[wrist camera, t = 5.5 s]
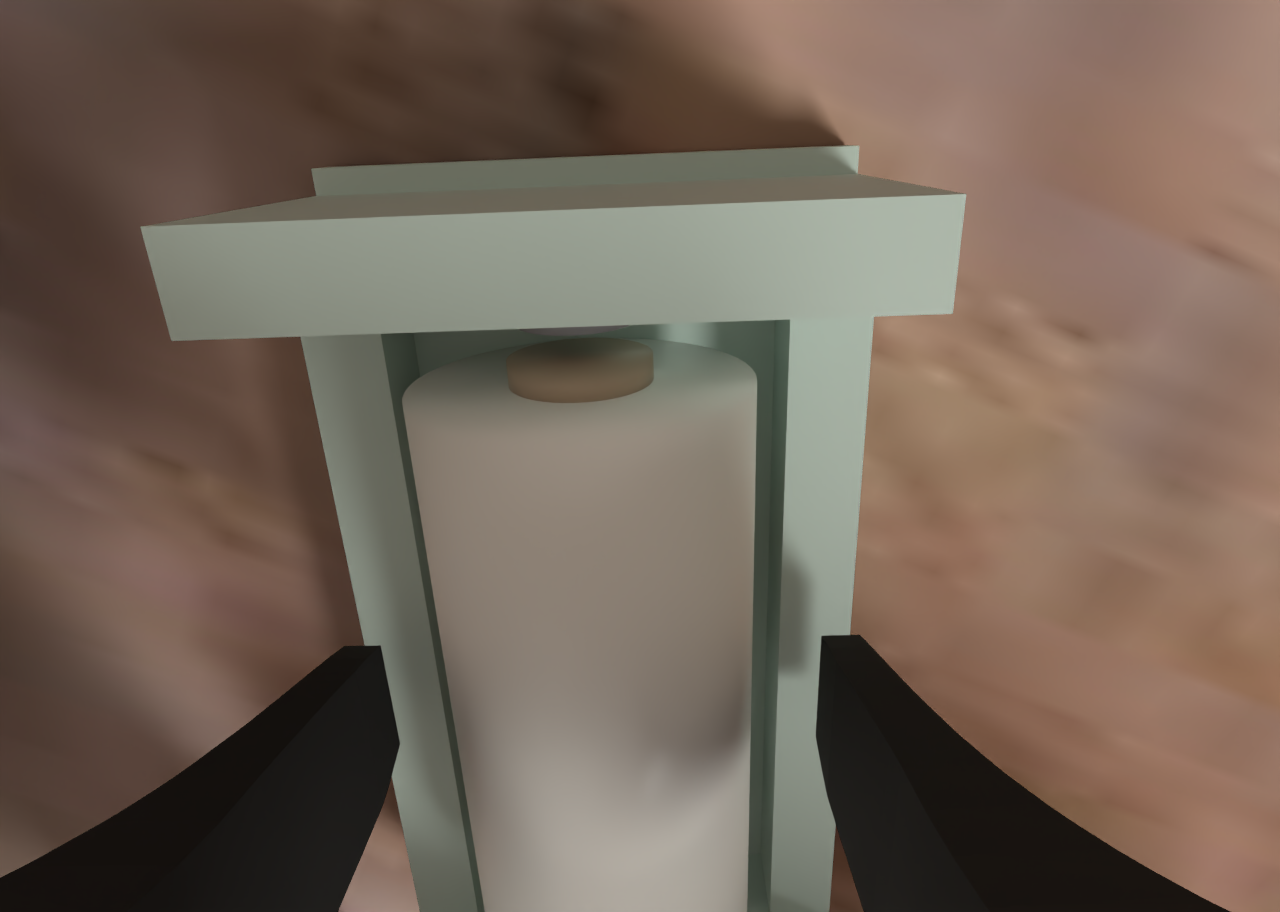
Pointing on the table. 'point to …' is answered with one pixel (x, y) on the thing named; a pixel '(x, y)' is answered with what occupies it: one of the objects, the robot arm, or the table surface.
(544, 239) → the holder
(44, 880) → the robot arm
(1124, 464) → the table surface
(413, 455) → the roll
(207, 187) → the table surface
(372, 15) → the table surface
